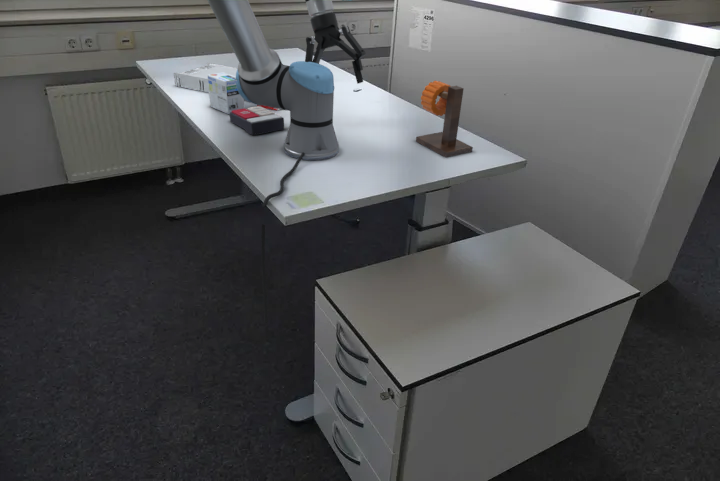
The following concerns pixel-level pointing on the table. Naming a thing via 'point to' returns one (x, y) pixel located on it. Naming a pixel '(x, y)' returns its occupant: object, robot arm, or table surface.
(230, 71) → the white cardboard box
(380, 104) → the table surface
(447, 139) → the stand
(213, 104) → the light bulb box
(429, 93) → the tape roll
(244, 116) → the red and black box
